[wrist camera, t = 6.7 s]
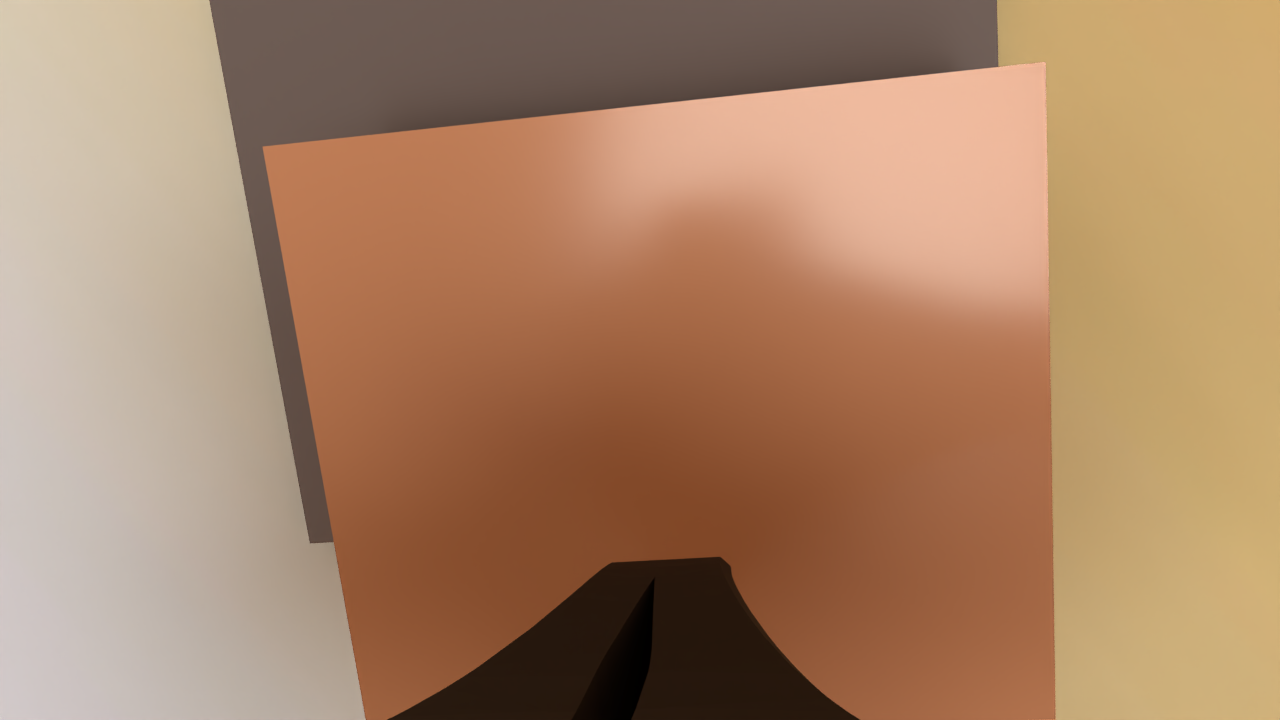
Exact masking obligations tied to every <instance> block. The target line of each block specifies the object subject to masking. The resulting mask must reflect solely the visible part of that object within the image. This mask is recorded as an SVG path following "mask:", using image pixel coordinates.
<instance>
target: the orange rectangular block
mask: <svg viewBox="0 0 1280 720" xmlns="http://www.w3.org/2000/svg"><path fill="white" fill-rule="evenodd" d="M263 152H264V157H265V163H266V169H267V174H268V180H269V185H270V191H271V196H272V202H273V207H274V213H275V218H276V224H277V230H278V235H279V241H280V246H281V252H282V257H283V263H284V268H285V274H286V279H287V285H288V291H289V296H290V302H291V307H292V313H293V318H294V324H295V329H296V335H297V340H298V346H299V352H300V357H301V363H302V368H303V374H304V379H305V385H306V390H307V396H308V401H309V407H310V413H311V418H312V424H313V429H314V435H315V440H316V446H317V451H318V457H319V462H320V468H321V474H322V479H323V485H324V490H325V496H326V501H327V507H328V512H329V518H330V523H331V529H332V534H333V540H334V546H335V551H336V557H337V562H338V568H339V573H340V579H341V584H342V590H343V595H344V601H345V607H346V612H347V618H348V623H349V629H350V634H351V640H352V645H353V651H354V656H355V662H356V668H357V673H358V679H359V684H360V690H361V695H362V701H363V706H364V712H365V717H366V720H387V719H389V718H391V717H394V716H395V715H397V714H399V713H401V712H403V711H405V710H407V709H409V708H411V707H412V706H414V705H416V704H418V703H420V702H421V701H423V700H425V699H427V698H428V697H430V696H432V695H434V694H435V693H437V692H439V691H441V690H442V689H444V688H446V687H447V686H449V685H451V684H452V683H454V682H456V681H457V680H459V679H460V678H462V677H464V676H465V675H467V674H468V673H470V672H471V671H473V670H474V669H476V668H477V667H479V666H480V665H481V664H483V663H484V662H485V661H487V660H488V659H490V658H491V657H492V656H494V655H495V654H496V653H498V652H499V651H500V650H502V649H503V648H505V647H506V646H507V645H509V644H510V643H511V642H513V641H514V640H515V639H517V638H518V637H520V636H521V635H522V634H524V633H525V632H526V631H528V630H529V629H530V628H532V627H533V626H534V625H535V624H537V623H538V622H539V621H540V620H541V619H543V618H544V617H545V616H546V615H547V614H549V613H550V612H551V611H552V610H553V609H555V608H556V607H557V606H558V605H559V604H561V603H562V602H563V601H564V600H565V599H567V598H568V597H569V596H570V595H571V594H573V593H574V592H575V591H576V590H577V589H578V588H580V587H581V586H582V585H583V584H584V583H585V582H587V581H588V580H589V579H590V578H591V577H592V576H594V575H595V574H596V573H597V572H599V571H600V570H601V569H602V568H604V567H605V566H607V565H608V564H610V563H611V562H630V561H648V560H667V559H685V558H704V557H721V558H722V559H723V560H725V561H726V562H727V563H728V564H729V565H730V566H731V571H732V577H733V580H734V582H735V584H736V586H737V589H738V590H739V592H740V594H741V596H742V598H743V600H744V601H745V603H746V604H747V606H748V608H749V609H750V611H751V612H752V614H753V615H754V616H755V618H756V619H757V621H758V622H759V623H760V625H761V626H762V628H763V629H764V630H765V632H766V633H767V635H768V636H769V637H770V638H771V640H772V641H773V642H774V643H775V645H776V646H777V647H778V648H779V649H780V650H781V652H782V653H783V654H784V655H785V656H786V657H787V658H788V659H789V660H790V662H791V663H792V664H793V665H794V666H795V667H796V668H797V669H798V670H799V671H800V672H801V673H802V674H803V675H804V676H805V677H806V678H807V679H808V680H809V681H810V682H811V683H812V684H813V685H814V686H815V687H816V688H817V689H819V690H820V691H821V692H822V693H823V694H824V695H826V696H827V697H828V698H829V699H831V700H832V701H833V702H835V703H836V704H838V705H839V706H840V707H842V708H843V709H845V710H846V711H847V712H849V713H850V714H852V715H854V716H855V717H857V718H858V719H860V720H1055V654H1054V588H1053V521H1052V455H1051V388H1050V322H1049V255H1048V189H1047V122H1046V62H1039V63H1030V64H1021V65H1012V66H1002V67H993V68H984V69H975V70H965V71H956V72H947V73H938V74H929V75H919V76H910V77H901V78H892V79H882V80H873V81H864V82H855V83H845V84H836V85H827V86H818V87H808V88H799V89H790V90H781V91H772V92H762V93H753V94H744V95H735V96H725V97H716V98H707V99H698V100H688V101H679V102H670V103H661V104H651V105H642V106H633V107H624V108H615V109H605V110H596V111H587V112H578V113H568V114H559V115H550V116H541V117H531V118H522V119H513V120H504V121H494V122H485V123H476V124H467V125H458V126H448V127H439V128H430V129H421V130H411V131H402V132H393V133H384V134H374V135H365V136H356V137H347V138H338V139H328V140H319V141H310V142H301V143H291V144H282V145H273V146H264V147H263Z"/></svg>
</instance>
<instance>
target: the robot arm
mask: <svg viewBox="0 0 1280 720" xmlns="http://www.w3.org/2000/svg"><path fill="white" fill-rule="evenodd" d="M387 720H860V719H858V718H857V717H855V716H854V715H852V714H850V713H849V712H847V711H846V710H845V709H843V708H842V707H840V706H839V705H838V704H836V703H835V702H833V701H832V700H831V699H829V698H828V697H827V696H826V695H824V694H823V693H822V692H821V691H820V690H819V689H817V688H816V687H815V686H814V685H813V684H812V683H811V682H810V681H809V680H808V679H807V678H806V677H805V676H804V675H803V674H802V673H801V672H800V671H799V670H798V669H797V668H796V667H795V666H794V665H793V664H792V663H791V662H790V660H789V659H788V658H787V657H786V656H785V655H784V654H783V653H782V652H781V650H780V649H779V648H778V647H777V646H776V645H775V643H774V642H773V641H772V640H771V638H770V637H769V636H768V635H767V633H766V632H765V630H764V629H763V628H762V626H761V625H760V623H759V622H758V621H757V619H756V618H755V616H754V615H753V614H752V612H751V611H750V609H749V608H748V606H747V604H746V603H745V601H744V600H743V598H742V596H741V594H740V592H739V590H738V589H737V586H736V584H735V582H734V580H733V577H732V571H731V566H730V565H729V564H728V563H727V562H726V561H725V560H723V559H722V558H721V557H704V558H685V559H667V560H648V561H630V562H611V563H610V564H608V565H607V566H605V567H604V568H602V569H601V570H600V571H599V572H597V573H596V574H595V575H594V576H592V577H591V578H590V579H589V580H588V581H587V582H585V583H584V584H583V585H582V586H581V587H580V588H578V589H577V590H576V591H575V592H574V593H573V594H571V595H570V596H569V597H568V598H567V599H565V600H564V601H563V602H562V603H561V604H559V605H558V606H557V607H556V608H555V609H553V610H552V611H551V612H550V613H549V614H547V615H546V616H545V617H544V618H543V619H541V620H540V621H539V622H538V623H537V624H535V625H534V626H533V627H532V628H530V629H529V630H528V631H526V632H525V633H524V634H522V635H521V636H520V637H518V638H517V639H515V640H514V641H513V642H511V643H510V644H509V645H507V646H506V647H505V648H503V649H502V650H500V651H499V652H498V653H496V654H495V655H494V656H492V657H491V658H490V659H488V660H487V661H485V662H484V663H483V664H481V665H480V666H479V667H477V668H476V669H474V670H473V671H471V672H470V673H468V674H467V675H465V676H464V677H462V678H460V679H459V680H457V681H456V682H454V683H452V684H451V685H449V686H447V687H446V688H444V689H442V690H441V691H439V692H437V693H435V694H434V695H432V696H430V697H428V698H427V699H425V700H423V701H421V702H420V703H418V704H416V705H414V706H412V707H411V708H409V709H407V710H405V711H403V712H401V713H399V714H397V715H395V716H394V717H391V718H389V719H387Z"/></svg>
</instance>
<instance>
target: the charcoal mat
mask: <svg viewBox="0 0 1280 720" xmlns="http://www.w3.org/2000/svg"><path fill="white" fill-rule="evenodd" d="M209 1H210V6H211V12H212V17H213V22H214V28H215V33H216V39H217V44H218V49H219V55H220V60H221V66H222V71H223V76H224V82H225V87H226V93H227V98H228V103H229V109H230V114H231V120H232V125H233V130H234V136H235V141H236V147H237V152H238V157H239V163H240V168H241V174H242V179H243V184H244V190H245V195H246V201H247V206H248V211H249V217H250V222H251V228H252V233H253V238H254V244H255V249H256V255H257V260H258V265H259V271H260V276H261V282H262V287H263V292H264V298H265V303H266V309H267V314H268V319H269V325H270V330H271V335H272V341H273V346H274V352H275V357H276V362H277V368H278V373H279V379H280V384H281V389H282V395H283V400H284V406H285V411H286V416H287V422H288V427H289V433H290V438H291V443H292V449H293V454H294V460H295V465H296V470H297V476H298V481H299V487H300V492H301V497H302V503H303V508H304V514H305V519H306V524H307V530H308V535H309V541H310V543H323V542H334V540H333V534H332V529H331V523H330V518H329V512H328V507H327V501H326V496H325V490H324V485H323V479H322V474H321V468H320V462H319V457H318V451H317V446H316V440H315V435H314V429H313V424H312V418H311V413H310V407H309V401H308V396H307V390H306V385H305V379H304V374H303V368H302V363H301V357H300V352H299V346H298V340H297V335H296V329H295V324H294V318H293V313H292V307H291V302H290V296H289V291H288V285H287V279H286V274H285V268H284V263H283V257H282V252H281V246H280V241H279V235H278V230H277V224H276V218H275V213H274V207H273V202H272V196H271V191H270V185H269V180H268V174H267V169H266V163H265V157H264V152H263V147H264V146H273V145H282V144H291V143H301V142H310V141H319V140H328V139H338V138H347V137H356V136H365V135H374V134H384V133H393V132H402V131H411V130H421V129H430V128H439V127H448V126H458V125H467V124H476V123H485V122H494V121H504V120H513V119H522V118H531V117H541V116H550V115H559V114H568V113H578V112H587V111H596V110H605V109H615V108H624V107H633V106H642V105H651V104H661V103H670V102H679V101H688V100H698V99H707V98H716V97H725V96H735V95H744V94H753V93H762V92H772V91H781V90H790V89H799V88H808V87H818V86H827V85H836V84H845V83H855V82H864V81H873V80H882V79H892V78H901V77H910V76H919V75H929V74H938V73H947V72H956V71H965V70H975V69H984V68H993V67H998V34H997V0H209Z"/></svg>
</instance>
